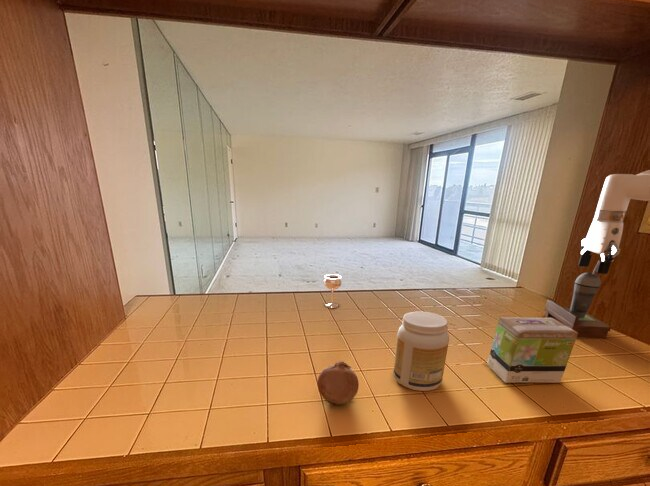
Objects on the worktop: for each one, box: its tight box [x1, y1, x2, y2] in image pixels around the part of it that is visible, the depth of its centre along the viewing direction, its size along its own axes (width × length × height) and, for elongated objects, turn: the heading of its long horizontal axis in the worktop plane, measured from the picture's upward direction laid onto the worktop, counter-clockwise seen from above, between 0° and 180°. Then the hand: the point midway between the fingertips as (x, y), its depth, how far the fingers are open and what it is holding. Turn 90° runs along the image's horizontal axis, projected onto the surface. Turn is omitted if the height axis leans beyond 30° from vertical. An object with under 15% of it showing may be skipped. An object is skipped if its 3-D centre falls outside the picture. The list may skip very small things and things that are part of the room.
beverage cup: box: [569, 260, 601, 318], centre depth 118 cm, size 7×7×20 cm
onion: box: [316, 361, 360, 406], centre depth 78 cm, size 10×9×10 cm
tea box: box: [486, 316, 578, 384], centre depth 90 cm, size 15×10×15 cm, turn 94°
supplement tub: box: [392, 311, 450, 392], centre depth 86 cm, size 12×12×17 cm
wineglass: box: [323, 273, 342, 309], centre depth 136 cm, size 7×7×12 cm
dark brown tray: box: [543, 298, 612, 339], centre depth 122 cm, size 12×18×7 cm, turn 175°
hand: (591, 269), depth 115 cm, fingers open, 9 cm apart
